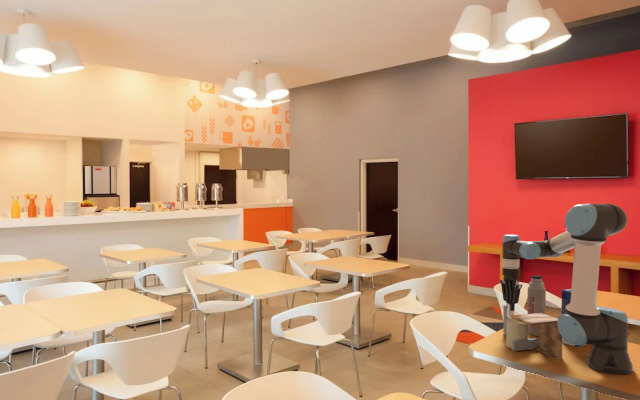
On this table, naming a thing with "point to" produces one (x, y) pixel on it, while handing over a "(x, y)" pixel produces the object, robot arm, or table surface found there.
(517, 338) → the can
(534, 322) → the brown angular piece
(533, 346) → the slider
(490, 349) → the table surface
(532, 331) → the thermos bottle
